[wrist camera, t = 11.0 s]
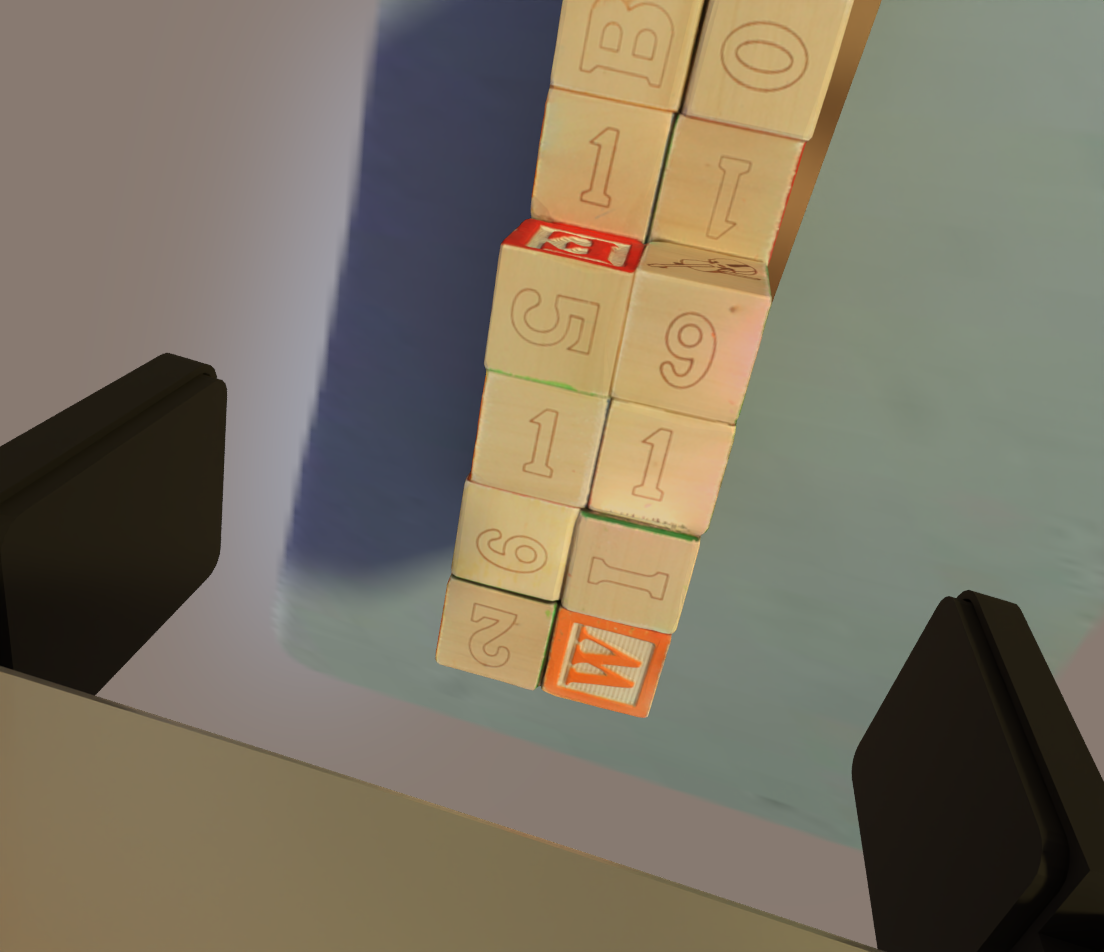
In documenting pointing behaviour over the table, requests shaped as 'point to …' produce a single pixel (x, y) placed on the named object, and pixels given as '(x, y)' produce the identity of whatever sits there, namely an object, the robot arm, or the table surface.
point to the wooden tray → (822, 133)
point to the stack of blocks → (628, 334)
